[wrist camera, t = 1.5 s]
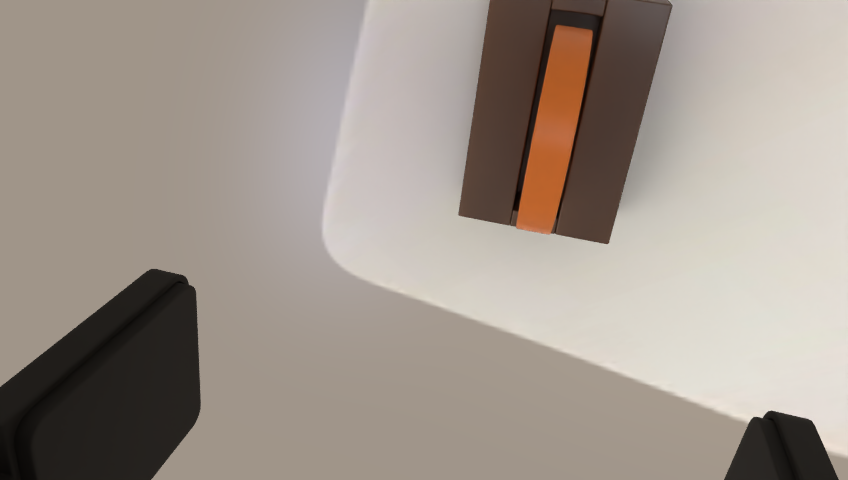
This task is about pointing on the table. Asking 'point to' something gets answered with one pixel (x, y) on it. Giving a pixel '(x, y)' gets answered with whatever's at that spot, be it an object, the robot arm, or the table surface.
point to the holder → (598, 118)
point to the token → (554, 128)
